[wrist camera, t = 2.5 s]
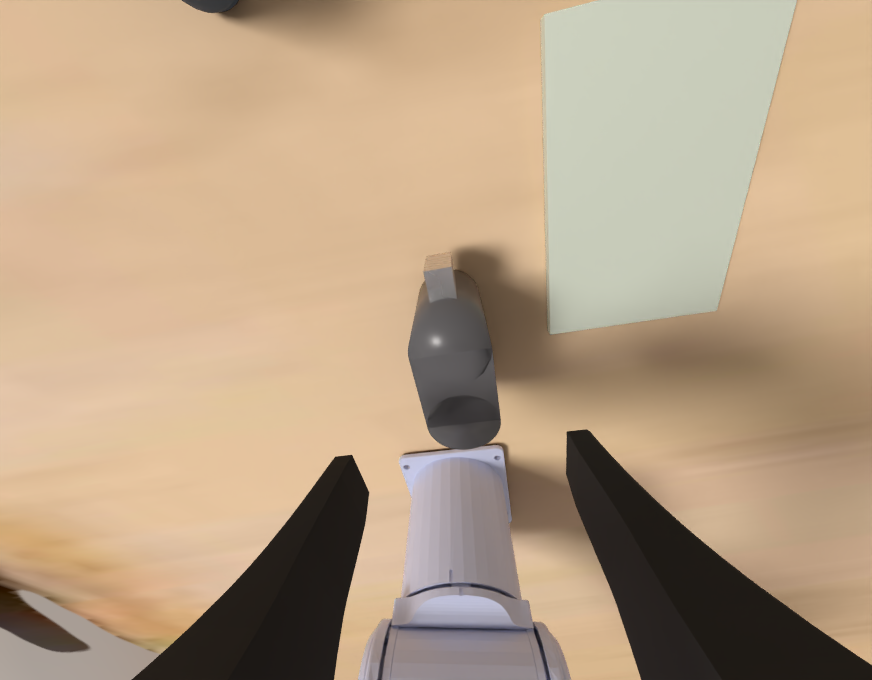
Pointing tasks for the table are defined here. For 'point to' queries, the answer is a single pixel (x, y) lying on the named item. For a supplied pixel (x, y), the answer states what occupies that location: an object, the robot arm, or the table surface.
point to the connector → (453, 358)
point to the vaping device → (211, 5)
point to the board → (650, 151)
